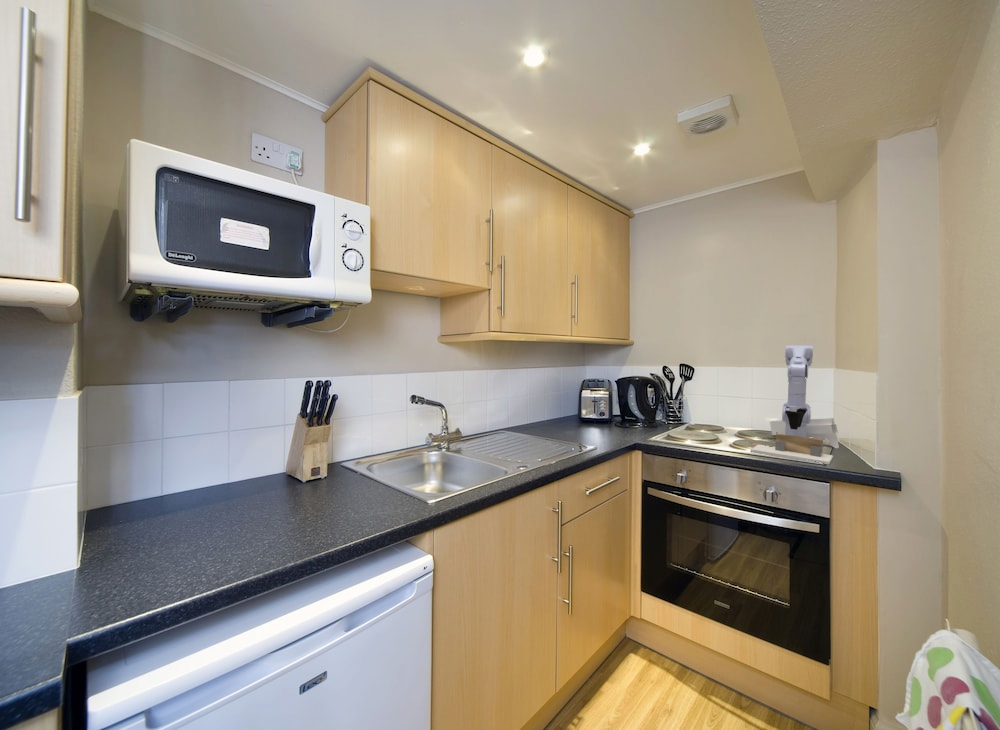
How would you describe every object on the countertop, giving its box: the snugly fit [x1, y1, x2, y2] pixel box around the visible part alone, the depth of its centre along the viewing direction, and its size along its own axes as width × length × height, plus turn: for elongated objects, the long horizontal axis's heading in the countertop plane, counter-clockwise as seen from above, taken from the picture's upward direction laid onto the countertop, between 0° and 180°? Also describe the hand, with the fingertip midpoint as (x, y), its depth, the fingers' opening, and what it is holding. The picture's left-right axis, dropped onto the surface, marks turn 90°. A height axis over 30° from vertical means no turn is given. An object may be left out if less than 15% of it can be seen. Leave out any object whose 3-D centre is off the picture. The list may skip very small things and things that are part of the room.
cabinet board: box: [750, 441, 834, 465], centre depth 154 cm, size 13×24×4 cm, turn 46°
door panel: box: [775, 434, 824, 456], centre depth 154 cm, size 2×14×6 cm, turn 46°
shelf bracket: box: [769, 418, 840, 449], centre depth 179 cm, size 6×25×13 cm, turn 25°
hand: (795, 427), depth 159 cm, fingers open, 7 cm apart
